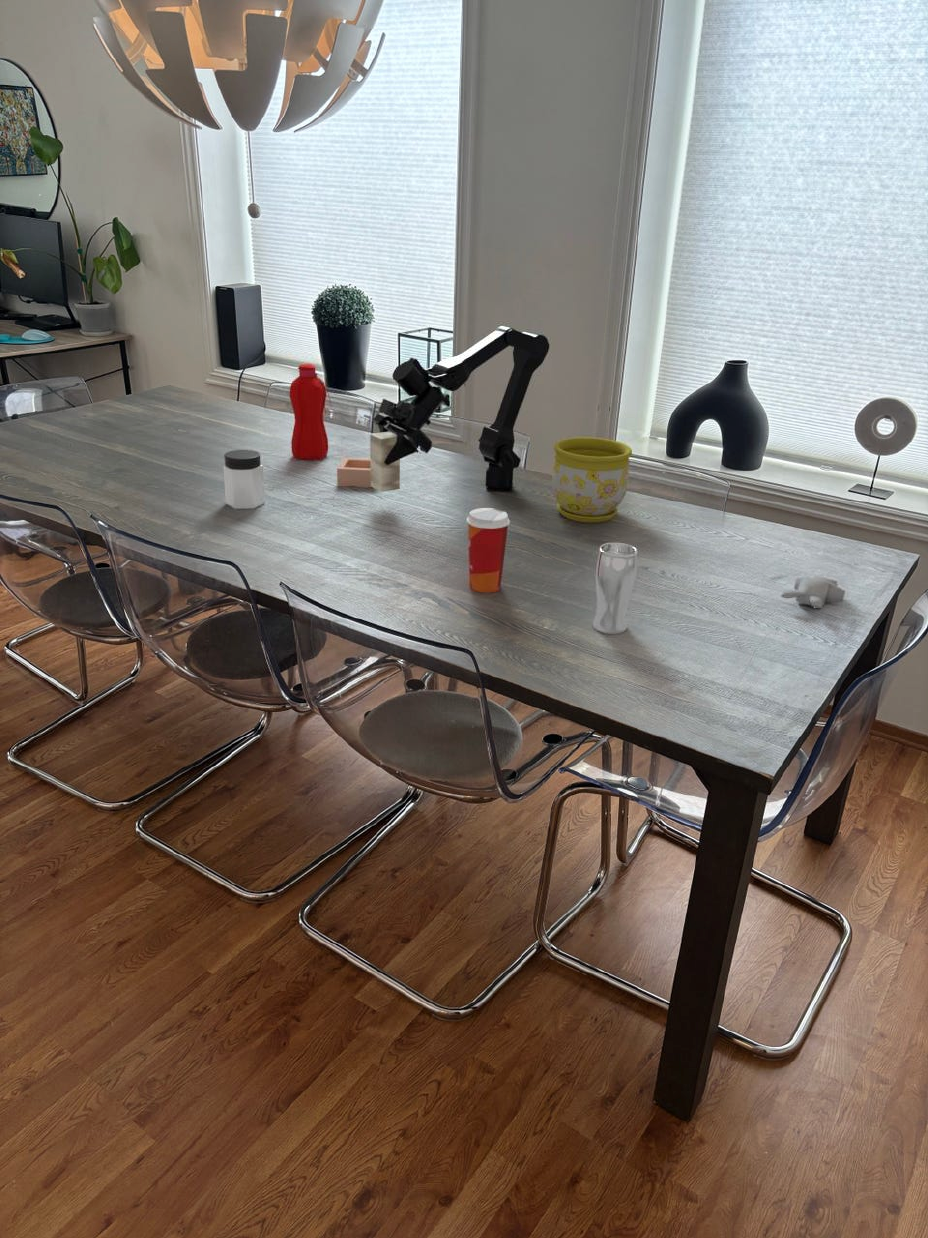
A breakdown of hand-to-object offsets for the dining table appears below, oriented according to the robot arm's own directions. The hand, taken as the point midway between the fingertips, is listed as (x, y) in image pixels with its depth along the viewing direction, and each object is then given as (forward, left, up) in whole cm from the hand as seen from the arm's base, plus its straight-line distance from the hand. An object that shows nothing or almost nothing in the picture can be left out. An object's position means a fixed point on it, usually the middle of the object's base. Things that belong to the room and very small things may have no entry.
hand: (379, 460), depth 220 cm
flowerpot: (-49, -4, -12) cm, 51 cm away
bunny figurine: (-90, +43, -12) cm, 100 cm away
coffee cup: (-26, +43, -12) cm, 52 cm away
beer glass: (-49, +58, -12) cm, 77 cm away
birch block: (-1, -1, -7) cm, 7 cm away
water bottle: (+24, -41, -12) cm, 49 cm away
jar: (+32, +1, -12) cm, 34 cm away
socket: (+8, -21, -12) cm, 25 cm away
